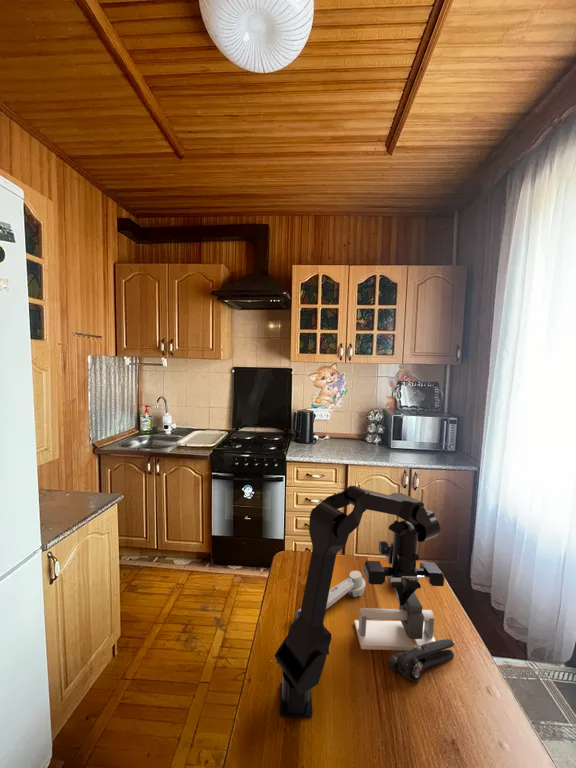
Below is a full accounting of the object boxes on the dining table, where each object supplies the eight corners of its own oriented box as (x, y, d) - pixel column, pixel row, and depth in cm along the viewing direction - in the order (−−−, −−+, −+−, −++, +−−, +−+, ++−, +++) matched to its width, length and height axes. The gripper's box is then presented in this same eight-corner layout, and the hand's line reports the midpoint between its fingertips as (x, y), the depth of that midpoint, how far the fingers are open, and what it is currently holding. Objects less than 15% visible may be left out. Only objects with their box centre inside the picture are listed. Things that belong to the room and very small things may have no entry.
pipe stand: (438, 651, 84) (441, 623, 83) (361, 649, 84) (363, 620, 83) (425, 625, 92) (427, 599, 91) (354, 623, 91) (356, 597, 91)
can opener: (404, 692, 73) (406, 667, 73) (384, 664, 80) (385, 642, 79) (465, 666, 80) (467, 644, 80) (441, 643, 87) (443, 622, 86)
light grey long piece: (293, 605, 92) (355, 562, 107) (294, 627, 93) (356, 581, 108) (306, 618, 88) (368, 570, 103) (307, 640, 89) (369, 590, 104)
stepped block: (421, 641, 84) (424, 610, 83) (409, 641, 84) (412, 610, 83) (409, 616, 92) (412, 588, 91) (398, 616, 92) (400, 587, 91)
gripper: (428, 530, 94) (424, 584, 95) (360, 528, 94) (357, 582, 95) (448, 554, 83) (442, 614, 84) (370, 551, 82) (367, 612, 84)
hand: (400, 604), depth 87 cm, fingers closed
